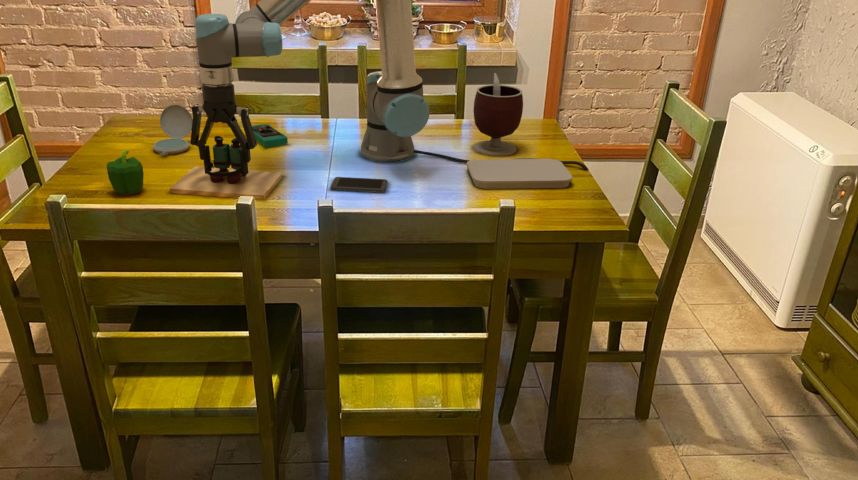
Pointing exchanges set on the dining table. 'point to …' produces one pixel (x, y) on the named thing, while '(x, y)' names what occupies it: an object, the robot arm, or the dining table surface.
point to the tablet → (518, 173)
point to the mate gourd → (497, 116)
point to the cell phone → (359, 184)
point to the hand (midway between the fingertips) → (226, 173)
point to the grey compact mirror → (174, 130)
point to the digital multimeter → (269, 136)
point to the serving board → (227, 184)
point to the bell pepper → (126, 174)
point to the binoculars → (225, 161)
